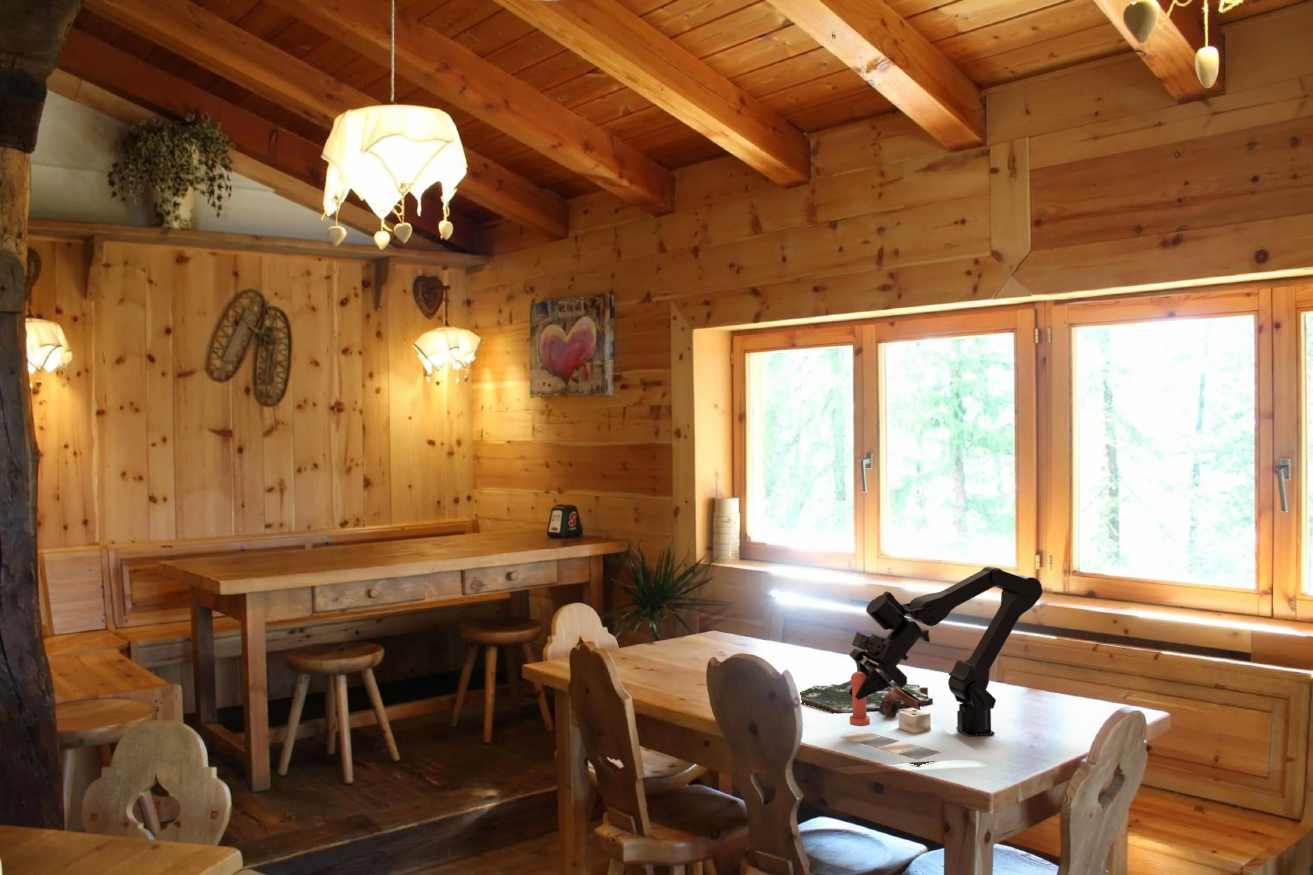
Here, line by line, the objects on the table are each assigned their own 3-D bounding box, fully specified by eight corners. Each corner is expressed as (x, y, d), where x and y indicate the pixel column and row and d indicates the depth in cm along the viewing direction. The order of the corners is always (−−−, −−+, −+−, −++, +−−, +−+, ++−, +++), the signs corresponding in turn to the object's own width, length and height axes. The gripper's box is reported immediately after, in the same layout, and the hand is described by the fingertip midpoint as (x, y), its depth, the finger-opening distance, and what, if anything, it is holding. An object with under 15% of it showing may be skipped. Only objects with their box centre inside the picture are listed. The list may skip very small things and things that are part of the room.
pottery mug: (881, 713, 257) (898, 684, 257) (914, 735, 252) (931, 705, 252) (865, 711, 247) (883, 681, 247) (899, 734, 242) (917, 703, 242)
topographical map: (786, 700, 271) (786, 689, 271) (878, 683, 288) (878, 673, 288) (855, 722, 249) (854, 709, 249) (950, 702, 266) (950, 690, 266)
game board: (835, 742, 230) (835, 736, 230) (862, 735, 236) (862, 729, 236) (918, 766, 212) (918, 760, 212) (946, 758, 217) (946, 752, 217)
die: (915, 730, 239) (915, 708, 239) (930, 735, 235) (930, 713, 235) (898, 733, 237) (898, 711, 237) (913, 738, 232) (913, 716, 233)
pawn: (866, 720, 233) (865, 669, 233) (872, 725, 228) (871, 673, 228) (847, 721, 232) (846, 669, 232) (853, 726, 228) (852, 674, 228)
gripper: (856, 613, 240) (812, 664, 238) (892, 626, 222) (845, 681, 220) (888, 645, 242) (845, 695, 240) (927, 660, 224) (881, 715, 221)
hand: (853, 696), depth 230 cm, fingers closed on pawn, 3 cm apart
